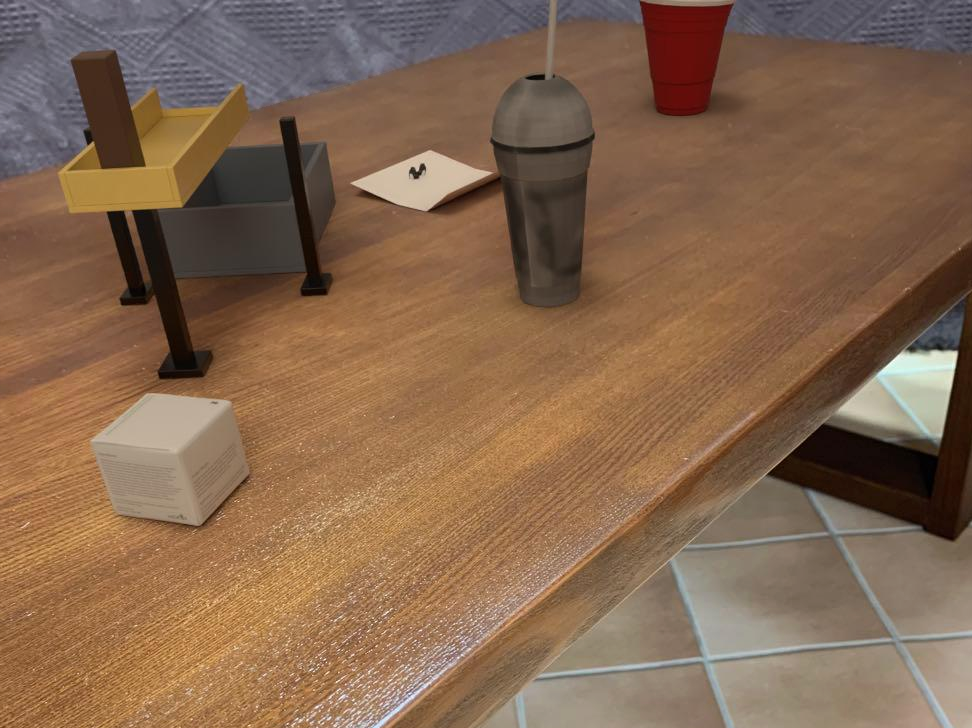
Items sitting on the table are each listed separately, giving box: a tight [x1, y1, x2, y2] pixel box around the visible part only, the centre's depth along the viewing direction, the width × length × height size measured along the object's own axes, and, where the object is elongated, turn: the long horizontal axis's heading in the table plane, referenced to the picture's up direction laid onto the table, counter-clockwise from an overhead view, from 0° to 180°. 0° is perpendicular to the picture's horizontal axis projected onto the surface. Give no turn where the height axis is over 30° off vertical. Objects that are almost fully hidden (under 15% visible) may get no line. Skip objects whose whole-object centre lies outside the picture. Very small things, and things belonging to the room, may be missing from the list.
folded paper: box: [349, 149, 501, 212], centre depth 102 cm, size 12×12×2 cm
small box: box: [89, 392, 251, 527], centre depth 59 cm, size 6×6×5 cm
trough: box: [57, 49, 251, 214], centre depth 70 cm, size 20×7×8 cm, turn 1°
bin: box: [157, 141, 336, 280], centre depth 92 cm, size 17×11×6 cm, turn 1°
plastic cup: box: [638, 0, 738, 116], centre depth 118 cm, size 11×11×12 cm
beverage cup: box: [489, 0, 596, 308], centre depth 75 cm, size 7×7×20 cm
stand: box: [82, 115, 333, 380], centre depth 75 cm, size 16×16×13 cm
